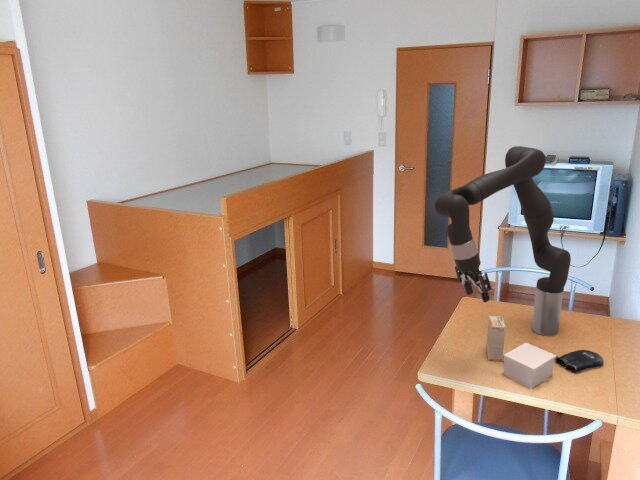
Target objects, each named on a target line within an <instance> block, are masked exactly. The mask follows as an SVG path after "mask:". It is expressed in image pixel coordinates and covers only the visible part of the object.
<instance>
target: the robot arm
mask: <svg viewBox="0 0 640 480" xmlns="http://www.w3.org/2000/svg"><path fill="white" fill-rule="evenodd" d="M546 159H547V158H546V155H545V153H544V152H543V151H542V150H541V149H537V148H534V147H528V146H521V145H520V146H519V145H518V146H517V145H516V146H515V145H514V146H512V147H510V148H509V149H508V150H507V152H506V153H505V158H504V165H505V168H502V169H498V170H496V171H490V172H488V173H484V174H482V175H479V176H478V177H476V178H474V179H472V180H471V181H469V182H467V183H466V184H463V185H462V186H459V187H456V188H453V189H450V190H448V191H446V192H443V193H442V194H441V195H439V196H438V197H437V198H436V200H435V203H434V210H435V212H436V213H437V214H438V215H440V216H441V217H447V218H450V222H451V223H449V224H448V225H447V227H446V233H447V236H448V240H449V243H450V249H451V253H452V257H453V260H454V263H455V266H454V270H455V273H456V277H457V280H458V282H459V283H461V285H462V286H464V289H465V293H466V295H467V296H470V295H472V294H474V289H473V286H474V287H475V288H477V290H479V292H480V295H481V300H482V302H483V303H487V302H490V299H491V298H490V295H489V294H490V293H489V291H491V290H492V285H491V282H490V279H489V276H488V274H487V272H483V273H482V272H481V270H480V266H481V259H480V256H479V252H478V248H477V245H476V242H475V241H474V240H475V239H474V238H473V234H472V233H473V232H472V231H471V230H472V229H471V227H470V206H474V205H477V204H479V203H480V202H482V201H484V200H486V199H487V198H489V197H490V196H493V195H495V194H496V193H498V192H501V191H502V190H504V189H506V188H509V187H512V186H513V188H514V189H515V192H516V196H517V198H518V201H519V204H520V208H521V213H522V215H523V218H524V223H525V225H526V227H527V231H528V234H529V238H530V243H531V249H532V254H533V255H532V256H533V259H534V263H535V265H536V266H537V267H538V268H540V269H541V270H543V271H547V272H550V273H549V276H545V277H540V278H538V279H537V280H536V286H535V287H536V288H535V295H534V296H535V297H534V302H533V303H534V305H533V314H532V320H531V330H532V331H533V332H534V333H536V334H539V335H542V336H548V337H550V336H555V335H558V333H559V328H560V322H561V315H562V305H563V297H564V292H565V291H564V290H565V286H566V284H567V281H568V276H569V271H570V266H571V260H572V259H571V257H572V256H571V254H570V252H569V251H568V250H566V249H564V248H561V247H558V246H554V245H552V244H551V243H550V239H549V235H548V234H549V233H548V232H549V231H550V229H551V227H552V225H553V223H554V218H555V217H554V211H553V209H552V205H551V201H550V200H549V198H548V197H547V195H546V194H545V192H544V191H543V190H542V189H541V188H540V187H539V186H538V184H536V182H535V180H534V179H533V178H534V177H536V176H538V175H539V174H540V173H542V171H543V170H544V168H545V166H546V161H547V160H546ZM472 284H473V286H472Z"/></svg>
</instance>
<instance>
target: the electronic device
mask: <svg viewBox="0 0 640 480" xmlns="http://www.w3.org/2000/svg"><path fill="white" fill-rule="evenodd" d="M604 362H605V361H604V358H603V357H602V356H601V355H600V354H599V353H598V352H595V351H592V350H588V349H578V350H574V351H571V352H568V353H564V354H562V355H560V356H557V355H556V358H555V359H554V364H560V365H561V366H562V367H563V368H565V369H566V370H569V371H571V372H572V373H574V374H575V373H578V372H582V371H586V370H589V369H595V368H600V367H602V366H603V365H604ZM562 363H564V364H562ZM571 367H572V368H571Z"/></svg>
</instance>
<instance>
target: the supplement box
mask: <svg viewBox="0 0 640 480" xmlns="http://www.w3.org/2000/svg"><path fill="white" fill-rule="evenodd" d="M506 327H507V326H506V324H505V321H504V318H503V316H495V315H489V316H488V324H487V334H486V344H485V345H486V346H485V350H486V354H487V355H486V356H487V358H488V360H489V361H492V362H503V360H504V357H503V355H504V349H505V338H506V330H507V329H506Z"/></svg>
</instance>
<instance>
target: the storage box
mask: <svg viewBox="0 0 640 480" xmlns="http://www.w3.org/2000/svg"><path fill="white" fill-rule="evenodd" d="M556 356H557V355H556V354H554V353H551V352H550V351H547V350H544V349H542V348H539V347H537V346H535V345H533V344H530V343H529V342H524V343H522V344H521V345H519V346H517V347H515V348H514V349H512V350H510V351H508V352H507V353H503V360H504V361H503V370H502V375H503V376H505V377H507V378H509V379H511V380H513V381H515V382H518V383H519V384H522V385H523V386H525V387H527V388H529V389H533V388H534V387H536V386H538V385H539V384H541V383H543V382H544V381H545V380H547V379H549V378H550V377H552V376H553V372H554V365H555V360H554V359H555V358H556Z"/></svg>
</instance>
